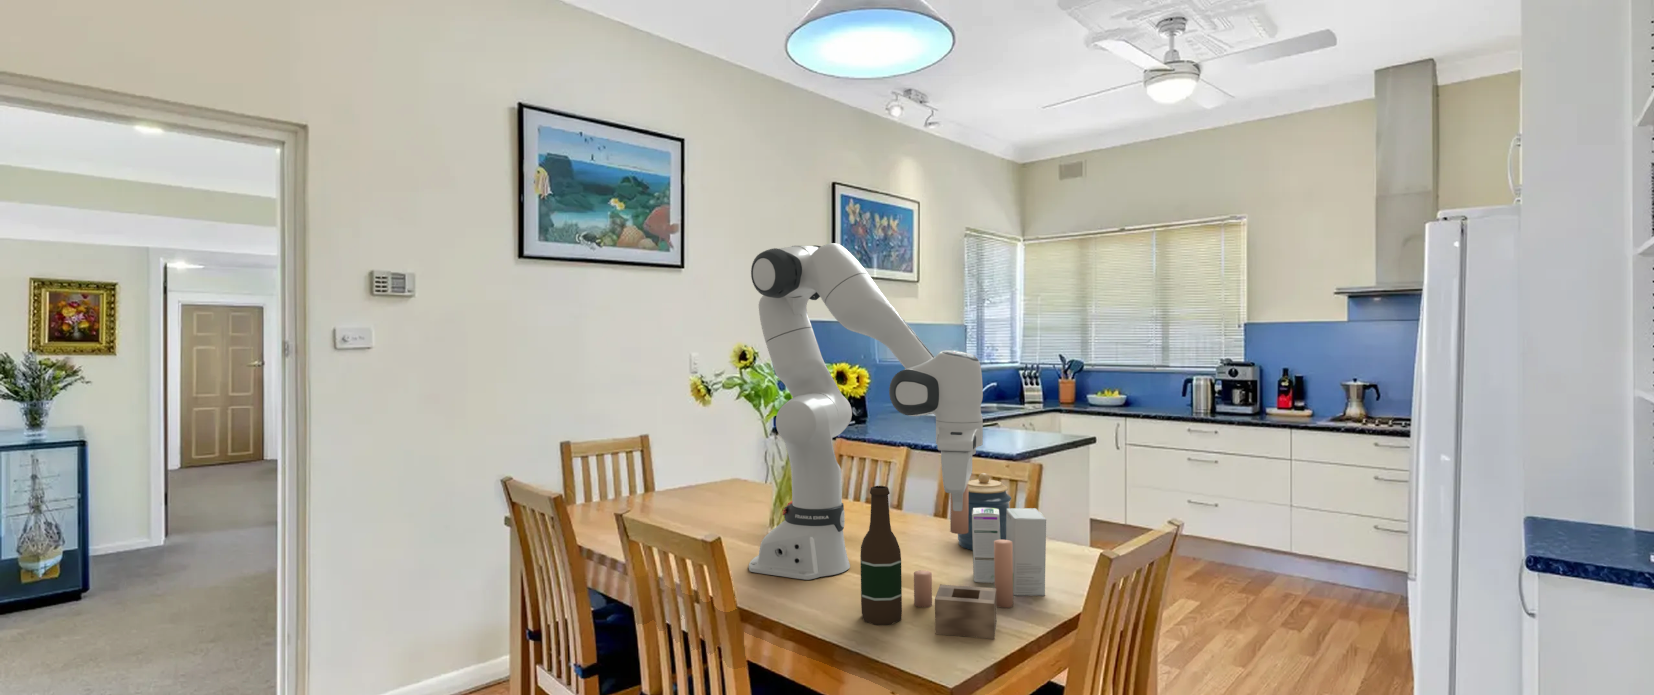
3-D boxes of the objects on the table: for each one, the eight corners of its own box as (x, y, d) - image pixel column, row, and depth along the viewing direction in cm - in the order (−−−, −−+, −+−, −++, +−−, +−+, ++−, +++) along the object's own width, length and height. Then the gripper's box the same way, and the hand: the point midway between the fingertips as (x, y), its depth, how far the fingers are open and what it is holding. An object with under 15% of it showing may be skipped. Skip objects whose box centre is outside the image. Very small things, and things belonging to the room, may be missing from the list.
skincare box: (1005, 582, 158) (1004, 507, 157) (1037, 582, 157) (1036, 507, 157) (1014, 596, 149) (1013, 517, 149) (1047, 596, 149) (1047, 517, 149)
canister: (978, 535, 195) (978, 466, 195) (1022, 545, 186) (1021, 472, 185) (946, 545, 186) (946, 473, 186) (991, 556, 177) (990, 480, 176)
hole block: (935, 633, 131) (934, 599, 131) (940, 617, 139) (940, 584, 139) (994, 639, 129) (993, 603, 129) (996, 621, 136) (996, 588, 136)
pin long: (994, 607, 144) (993, 543, 143) (995, 601, 147) (994, 539, 147) (1012, 608, 143) (1012, 544, 143) (1013, 602, 146) (1012, 540, 146)
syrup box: (1001, 584, 157) (1000, 513, 157) (972, 582, 158) (971, 512, 158) (1001, 575, 163) (1000, 507, 162) (972, 574, 164) (972, 506, 163)
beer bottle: (872, 629, 134) (870, 493, 134) (853, 614, 141) (851, 485, 141) (910, 621, 137) (908, 488, 137) (890, 607, 144) (888, 481, 144)
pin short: (913, 606, 145) (912, 575, 144) (915, 600, 148) (915, 569, 148) (930, 608, 144) (930, 576, 144) (933, 601, 147) (932, 571, 147)
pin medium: (949, 533, 145) (949, 486, 144) (951, 528, 148) (951, 482, 148) (967, 534, 144) (967, 487, 144) (969, 530, 147) (969, 483, 147)
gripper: (948, 428, 156) (948, 495, 157) (936, 442, 137) (936, 519, 137) (979, 429, 155) (979, 496, 155) (972, 443, 135) (971, 521, 135)
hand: (959, 507), depth 146 cm, fingers closed on pin medium, 3 cm apart
